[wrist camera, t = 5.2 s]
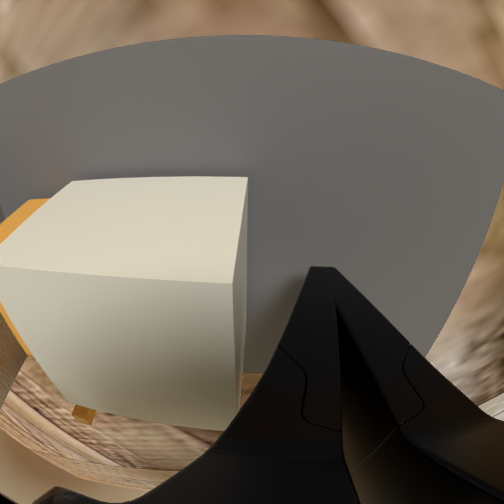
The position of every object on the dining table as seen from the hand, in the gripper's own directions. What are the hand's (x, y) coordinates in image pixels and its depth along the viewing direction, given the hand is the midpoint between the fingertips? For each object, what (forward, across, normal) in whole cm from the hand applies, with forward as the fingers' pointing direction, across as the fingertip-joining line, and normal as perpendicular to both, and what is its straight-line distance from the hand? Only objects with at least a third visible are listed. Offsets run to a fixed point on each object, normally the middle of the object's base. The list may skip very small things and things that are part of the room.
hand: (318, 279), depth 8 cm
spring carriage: (0, +4, 0) cm, 5 cm away
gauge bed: (+2, +4, 0) cm, 5 cm away
